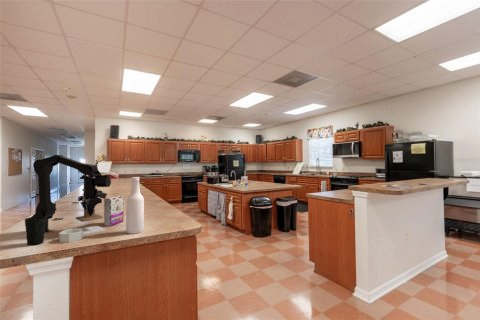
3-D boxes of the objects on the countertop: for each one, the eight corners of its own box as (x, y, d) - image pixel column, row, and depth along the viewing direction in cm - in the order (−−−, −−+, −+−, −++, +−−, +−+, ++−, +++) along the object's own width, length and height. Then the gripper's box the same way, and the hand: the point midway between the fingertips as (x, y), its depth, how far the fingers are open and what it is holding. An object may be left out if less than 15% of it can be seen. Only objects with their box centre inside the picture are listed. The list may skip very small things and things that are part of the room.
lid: (75, 218, 125) (75, 209, 125) (95, 215, 133) (96, 207, 133) (81, 221, 119) (82, 212, 119) (102, 218, 127) (102, 209, 127)
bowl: (56, 240, 110) (57, 231, 110) (78, 235, 117) (78, 227, 117) (62, 244, 104) (62, 235, 105) (84, 239, 112) (85, 230, 112)
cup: (33, 241, 108) (34, 216, 109) (50, 240, 109) (50, 215, 109) (19, 247, 101) (19, 220, 101) (37, 246, 101) (38, 219, 102)
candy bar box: (117, 221, 146) (117, 196, 147) (123, 221, 145) (123, 196, 146) (103, 225, 135) (103, 198, 136) (110, 226, 134) (110, 198, 135)
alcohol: (144, 232, 122) (145, 177, 123) (126, 235, 118) (127, 177, 118) (142, 228, 130) (142, 176, 130) (125, 230, 125) (126, 177, 126)
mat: (72, 230, 125) (72, 229, 125) (96, 226, 135) (96, 225, 135) (80, 235, 117) (80, 234, 117) (106, 230, 126) (106, 229, 126)
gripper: (112, 187, 127) (111, 214, 126) (99, 185, 138) (98, 210, 138) (89, 188, 118) (89, 218, 118) (77, 186, 130) (77, 213, 129)
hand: (89, 215), depth 126 cm, fingers closed on lid, 4 cm apart
